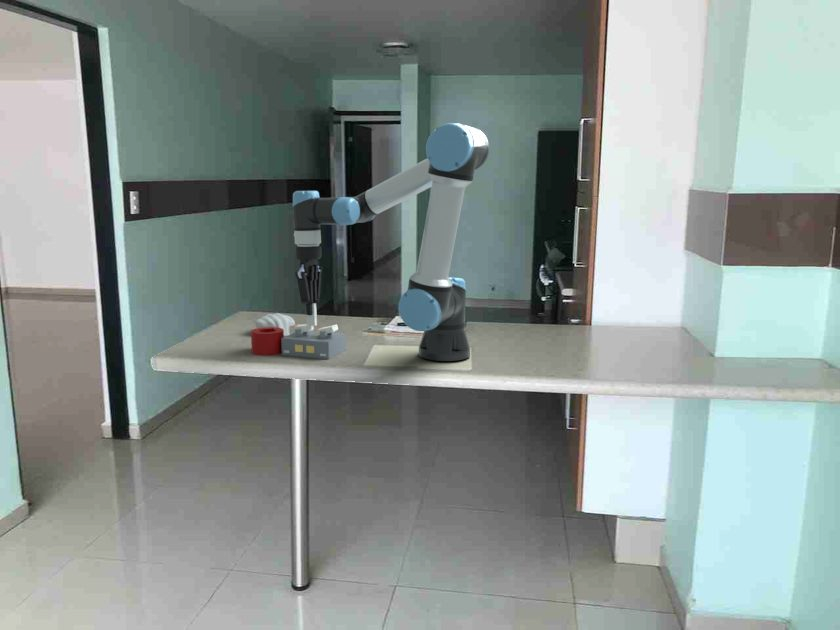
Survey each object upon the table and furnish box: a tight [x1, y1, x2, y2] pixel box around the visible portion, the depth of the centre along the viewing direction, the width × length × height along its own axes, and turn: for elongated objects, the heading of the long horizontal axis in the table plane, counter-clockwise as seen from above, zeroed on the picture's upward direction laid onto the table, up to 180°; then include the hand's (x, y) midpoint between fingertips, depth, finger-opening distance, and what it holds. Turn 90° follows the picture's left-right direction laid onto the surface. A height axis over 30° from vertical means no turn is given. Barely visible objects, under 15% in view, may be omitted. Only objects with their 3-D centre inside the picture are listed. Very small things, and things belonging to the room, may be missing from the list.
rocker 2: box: [313, 324, 339, 336], centre depth 198 cm, size 6×4×2 cm, turn 72°
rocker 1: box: [289, 323, 315, 334], centre depth 200 cm, size 6×4×2 cm, turn 72°
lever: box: [250, 327, 286, 356], centre depth 204 cm, size 18×9×7 cm, turn 160°
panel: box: [281, 329, 347, 360], centre depth 199 cm, size 15×12×7 cm
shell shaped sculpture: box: [254, 312, 296, 336], centre depth 223 cm, size 13×13×6 cm
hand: (311, 325), depth 199 cm, fingers closed, pressing on rocker 1
